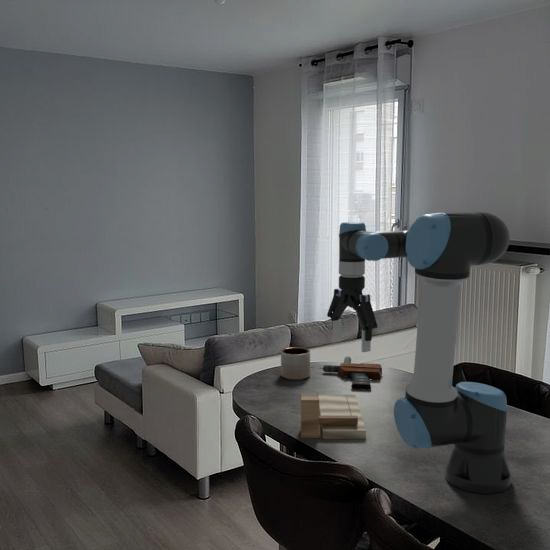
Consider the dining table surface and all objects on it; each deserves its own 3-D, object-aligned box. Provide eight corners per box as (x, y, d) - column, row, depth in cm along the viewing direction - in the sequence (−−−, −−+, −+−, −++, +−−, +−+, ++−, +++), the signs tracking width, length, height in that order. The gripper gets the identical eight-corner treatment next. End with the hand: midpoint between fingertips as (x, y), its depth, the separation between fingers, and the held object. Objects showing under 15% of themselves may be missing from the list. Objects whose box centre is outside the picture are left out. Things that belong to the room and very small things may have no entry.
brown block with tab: (358, 437, 181) (358, 400, 179) (301, 437, 181) (301, 400, 180) (356, 429, 187) (356, 393, 185) (300, 429, 187) (300, 392, 186)
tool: (380, 383, 220) (383, 355, 248) (301, 378, 225) (313, 352, 254) (379, 394, 220) (383, 365, 249) (301, 389, 226) (313, 361, 255)
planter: (278, 379, 233) (278, 354, 232) (283, 371, 244) (283, 346, 242) (308, 381, 232) (308, 355, 230) (311, 372, 242) (311, 347, 241)
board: (365, 439, 180) (366, 430, 180) (322, 438, 180) (322, 430, 180) (355, 402, 210) (355, 394, 209) (318, 402, 210) (318, 394, 209)
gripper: (390, 279, 179) (389, 353, 182) (335, 269, 200) (335, 335, 203) (370, 282, 175) (368, 358, 178) (316, 271, 196) (315, 339, 199)
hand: (350, 346), depth 191 cm, fingers open, 13 cm apart
